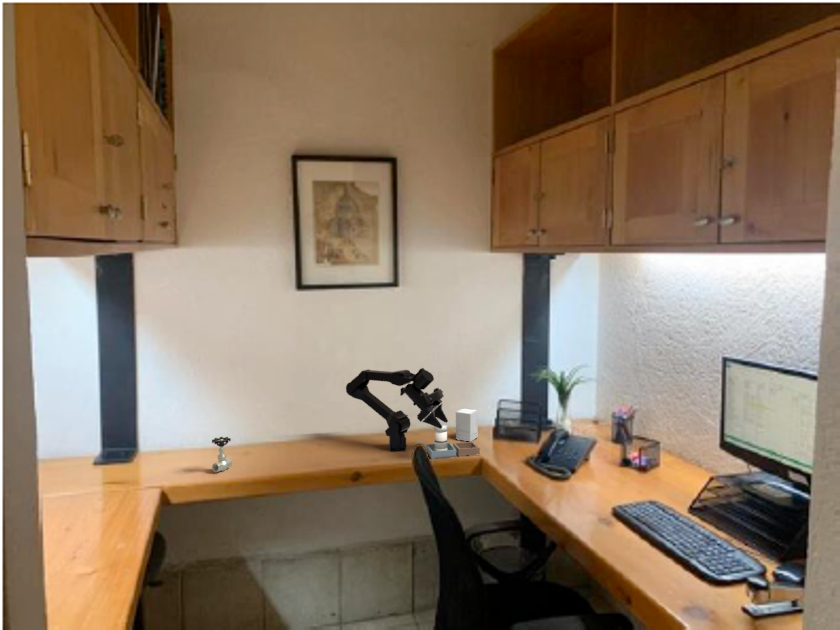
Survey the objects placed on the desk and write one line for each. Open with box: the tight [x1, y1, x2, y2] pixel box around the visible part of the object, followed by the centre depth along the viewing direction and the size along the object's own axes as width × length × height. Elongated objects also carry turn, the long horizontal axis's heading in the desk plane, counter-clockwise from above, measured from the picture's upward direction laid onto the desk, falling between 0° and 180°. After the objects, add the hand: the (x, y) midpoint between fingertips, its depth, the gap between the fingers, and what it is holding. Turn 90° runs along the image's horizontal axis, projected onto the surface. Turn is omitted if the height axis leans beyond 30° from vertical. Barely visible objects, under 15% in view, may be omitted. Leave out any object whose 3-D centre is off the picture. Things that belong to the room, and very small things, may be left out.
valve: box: [211, 436, 233, 474], centre depth 237 cm, size 7×7×12 cm
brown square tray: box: [452, 441, 481, 457], centre depth 258 cm, size 9×9×3 cm
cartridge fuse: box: [433, 423, 448, 451], centre depth 255 cm, size 5×5×11 cm
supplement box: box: [455, 408, 479, 442], centre depth 276 cm, size 7×7×13 cm
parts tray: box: [425, 442, 457, 460], centre depth 255 cm, size 10×10×3 cm
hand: (444, 424), depth 254 cm, fingers open, 9 cm apart
